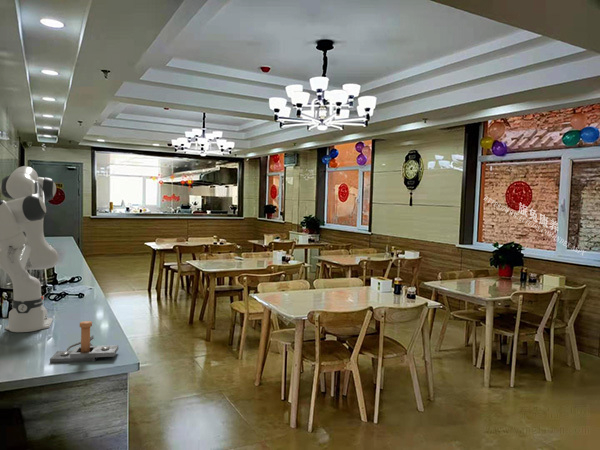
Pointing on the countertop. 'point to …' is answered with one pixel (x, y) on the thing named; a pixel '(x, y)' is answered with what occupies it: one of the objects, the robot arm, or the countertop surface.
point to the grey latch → (84, 354)
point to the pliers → (80, 343)
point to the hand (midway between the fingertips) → (28, 272)
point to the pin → (85, 335)
